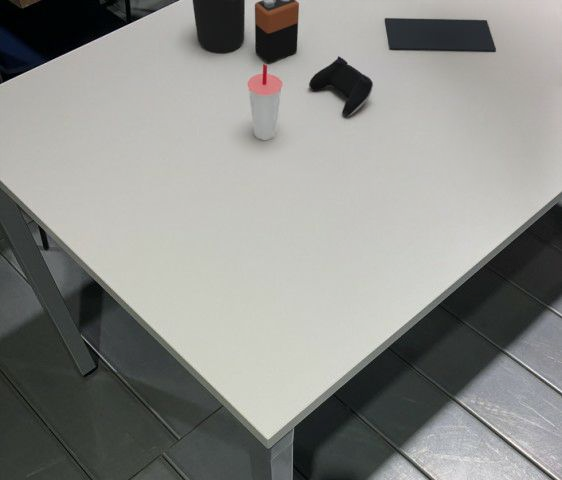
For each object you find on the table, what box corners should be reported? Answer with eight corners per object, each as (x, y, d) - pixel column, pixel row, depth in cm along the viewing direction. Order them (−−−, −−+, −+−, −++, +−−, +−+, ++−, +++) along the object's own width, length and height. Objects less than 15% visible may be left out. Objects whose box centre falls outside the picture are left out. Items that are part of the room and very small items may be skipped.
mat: (486, 22, 121) (486, 19, 121) (495, 51, 116) (496, 49, 116) (384, 19, 121) (384, 17, 121) (389, 49, 116) (389, 47, 115)
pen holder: (248, 53, 114) (247, -3, 106) (197, 56, 113) (192, 0, 105) (243, 24, 119) (241, -32, 110) (194, 27, 118) (188, -29, 110)
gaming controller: (356, 125, 108) (382, 89, 105) (345, 116, 104) (372, 78, 101) (316, 93, 112) (340, 58, 109) (304, 83, 108) (329, 46, 105)
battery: (254, 53, 114) (253, -4, 106) (284, 41, 116) (285, -15, 108) (267, 65, 112) (267, 8, 104) (298, 53, 115) (300, -3, 106)
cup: (266, 118, 105) (266, 50, 94) (287, 134, 103) (290, 66, 92) (242, 132, 103) (239, 64, 92) (263, 148, 101) (263, 80, 90)
